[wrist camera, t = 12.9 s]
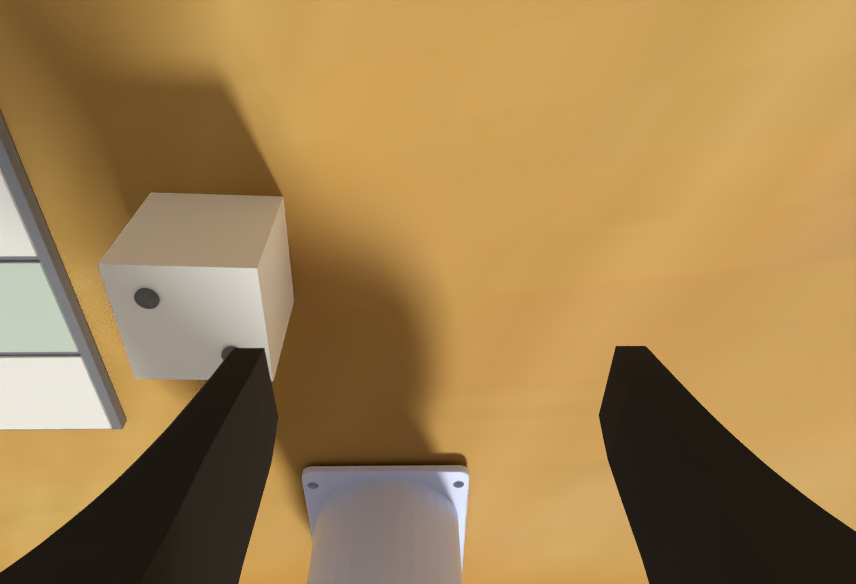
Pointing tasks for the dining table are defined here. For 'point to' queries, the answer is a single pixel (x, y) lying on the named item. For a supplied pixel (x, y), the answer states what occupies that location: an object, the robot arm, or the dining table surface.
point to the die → (200, 282)
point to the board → (43, 323)
